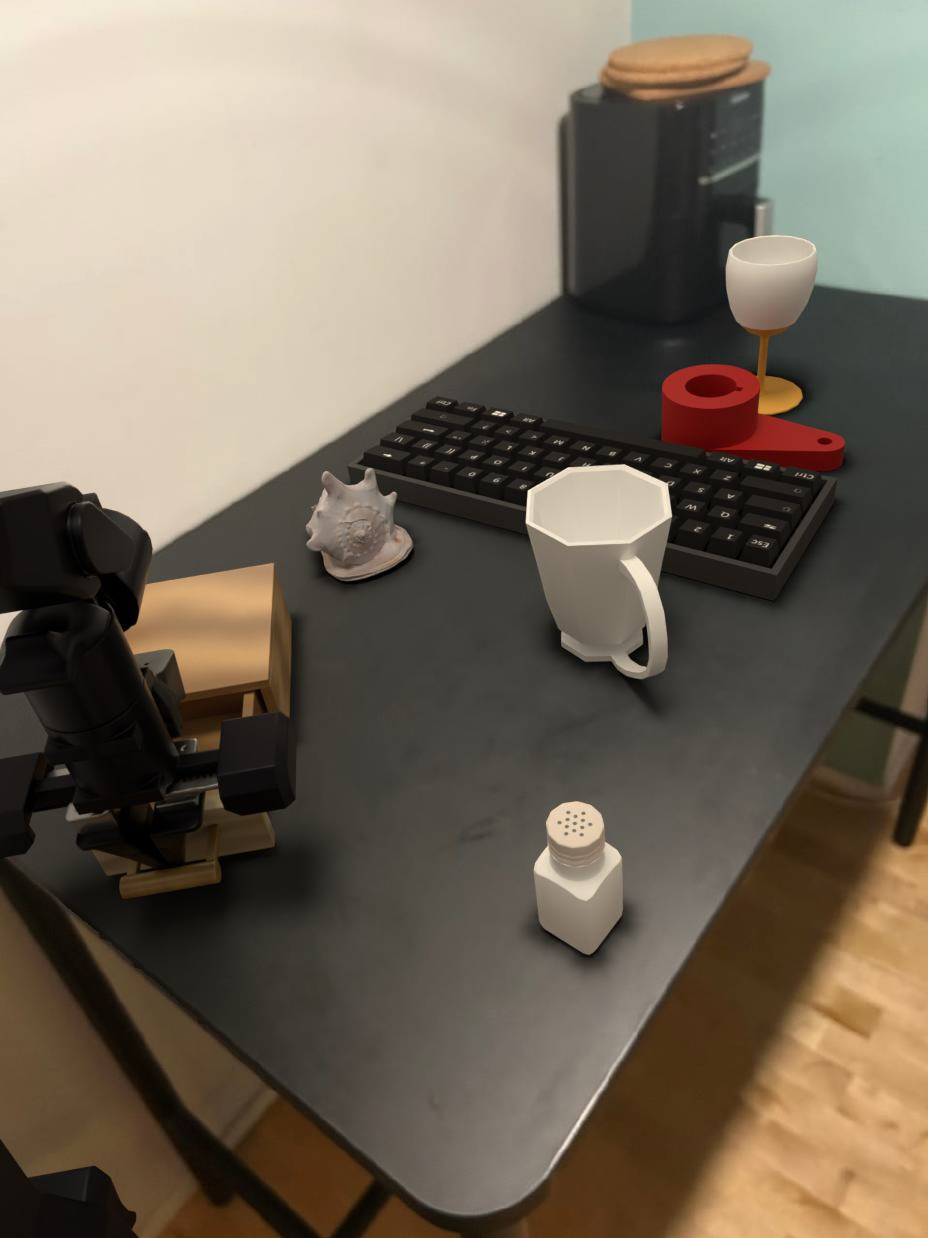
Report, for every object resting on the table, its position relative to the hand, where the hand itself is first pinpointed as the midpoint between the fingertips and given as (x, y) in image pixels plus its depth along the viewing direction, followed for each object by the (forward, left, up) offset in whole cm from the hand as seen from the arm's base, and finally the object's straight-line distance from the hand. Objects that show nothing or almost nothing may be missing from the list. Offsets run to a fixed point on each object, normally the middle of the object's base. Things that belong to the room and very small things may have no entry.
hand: (178, 867), depth 62 cm
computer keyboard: (+53, +4, -3) cm, 53 cm away
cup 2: (+79, -3, -3) cm, 79 cm away
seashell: (+35, +18, -3) cm, 39 cm away
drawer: (+5, +5, -2) cm, 7 cm away
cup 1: (+35, -11, -3) cm, 36 cm away
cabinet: (+14, +14, -3) cm, 20 cm away
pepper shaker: (+13, -22, -3) cm, 26 cm away
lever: (+68, -7, -3) cm, 68 cm away
